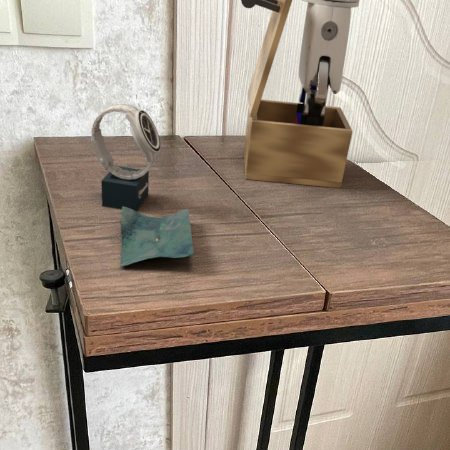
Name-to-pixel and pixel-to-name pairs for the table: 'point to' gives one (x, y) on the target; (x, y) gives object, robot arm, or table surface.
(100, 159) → the watch
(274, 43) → the case lid
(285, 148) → the case
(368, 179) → the table surface
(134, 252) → the terrain model
